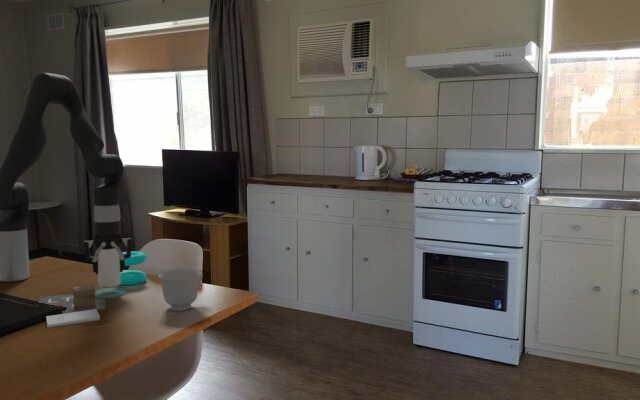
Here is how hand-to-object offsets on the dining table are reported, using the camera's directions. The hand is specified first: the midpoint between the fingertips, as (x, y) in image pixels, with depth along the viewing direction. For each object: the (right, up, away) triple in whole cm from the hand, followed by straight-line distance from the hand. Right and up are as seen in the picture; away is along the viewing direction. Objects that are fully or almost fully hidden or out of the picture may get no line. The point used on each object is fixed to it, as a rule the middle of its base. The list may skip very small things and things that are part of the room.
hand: (109, 272), depth 160 cm
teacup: (+26, -9, -11) cm, 30 cm away
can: (0, -4, 0) cm, 4 cm away
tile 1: (-12, -8, -7) cm, 16 cm away
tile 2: (-2, -8, -11) cm, 14 cm away
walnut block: (-2, -8, -11) cm, 14 cm away
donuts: (+2, -6, +14) cm, 16 cm away
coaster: (0, -7, +1) cm, 7 cm away
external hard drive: (0, -10, -23) cm, 25 cm away
